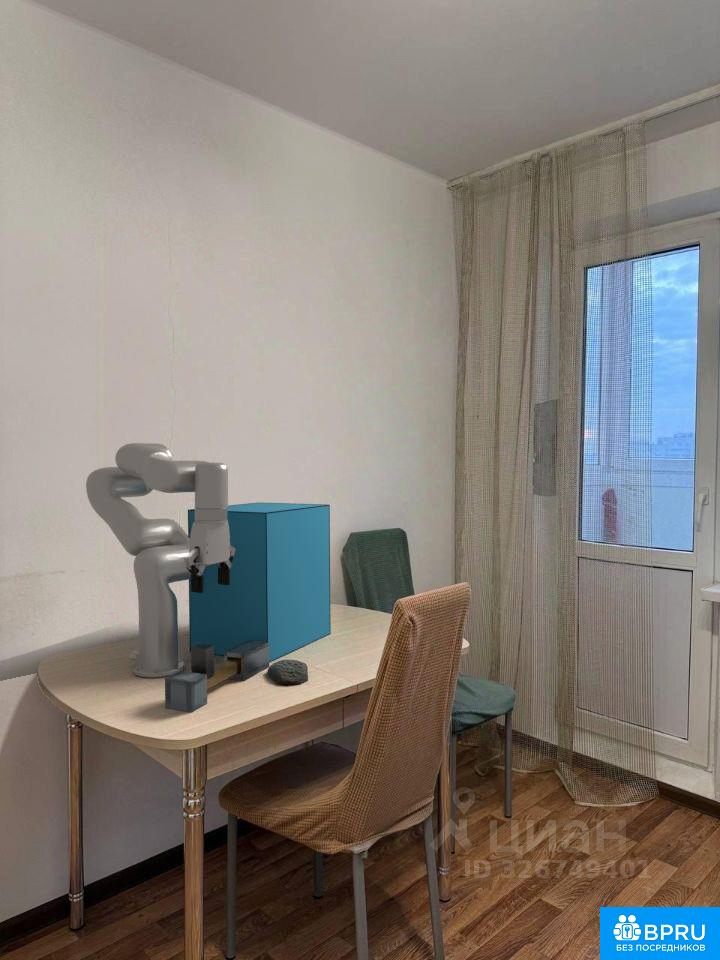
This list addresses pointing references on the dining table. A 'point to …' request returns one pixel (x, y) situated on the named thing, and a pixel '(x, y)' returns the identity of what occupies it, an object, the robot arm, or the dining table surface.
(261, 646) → the sleeve
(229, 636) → the box
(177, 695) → the socket
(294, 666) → the fossil
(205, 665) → the tan bar piece
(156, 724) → the dining table surface
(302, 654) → the dining table surface
